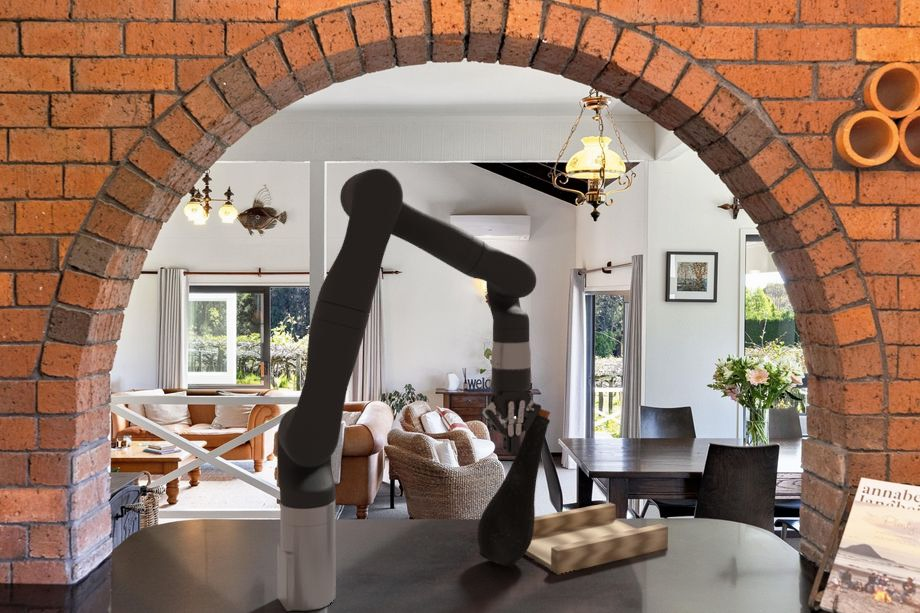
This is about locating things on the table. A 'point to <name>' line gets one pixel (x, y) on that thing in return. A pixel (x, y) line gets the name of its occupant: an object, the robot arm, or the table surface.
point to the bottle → (514, 502)
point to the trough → (590, 538)
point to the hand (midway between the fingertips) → (511, 454)
